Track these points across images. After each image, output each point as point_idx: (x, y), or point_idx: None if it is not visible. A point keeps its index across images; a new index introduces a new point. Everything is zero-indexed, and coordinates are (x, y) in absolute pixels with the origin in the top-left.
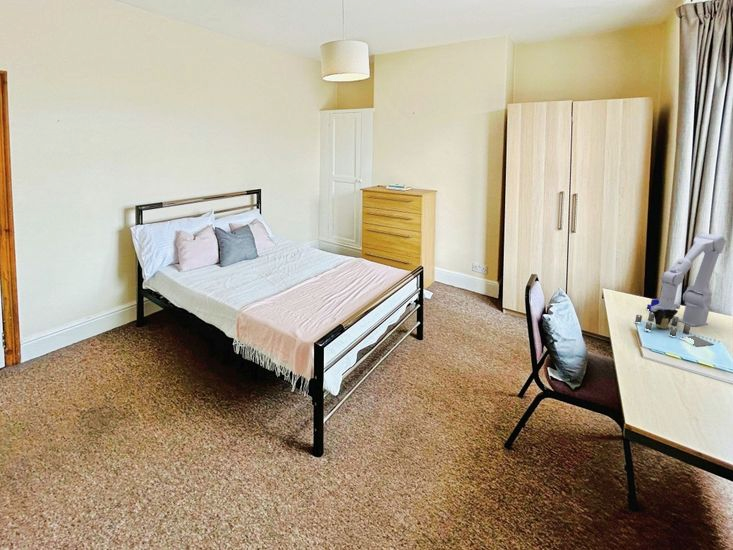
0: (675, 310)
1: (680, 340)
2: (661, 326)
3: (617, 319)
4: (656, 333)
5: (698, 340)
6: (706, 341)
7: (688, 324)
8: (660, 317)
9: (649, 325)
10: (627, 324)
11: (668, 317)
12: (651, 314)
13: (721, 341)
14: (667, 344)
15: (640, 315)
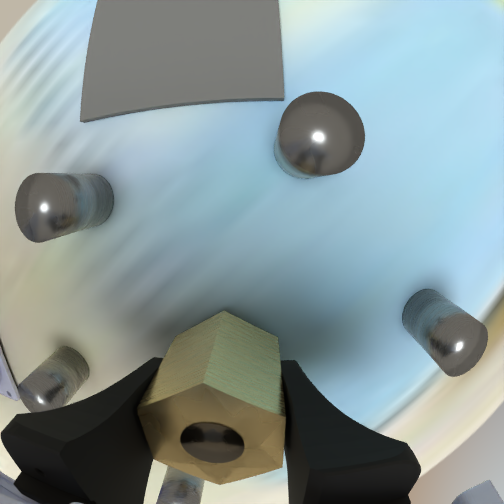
0: (27, 460)
1: (301, 58)
2: (270, 342)
3: None
4: (393, 256)
5: (146, 20)
6: (105, 8)
7: (18, 223)
8: (348, 418)
9: (477, 320)
10: (423, 431)
11: (157, 414)
12: (194, 501)
13: (12, 45)
14: (466, 56)
15: None
